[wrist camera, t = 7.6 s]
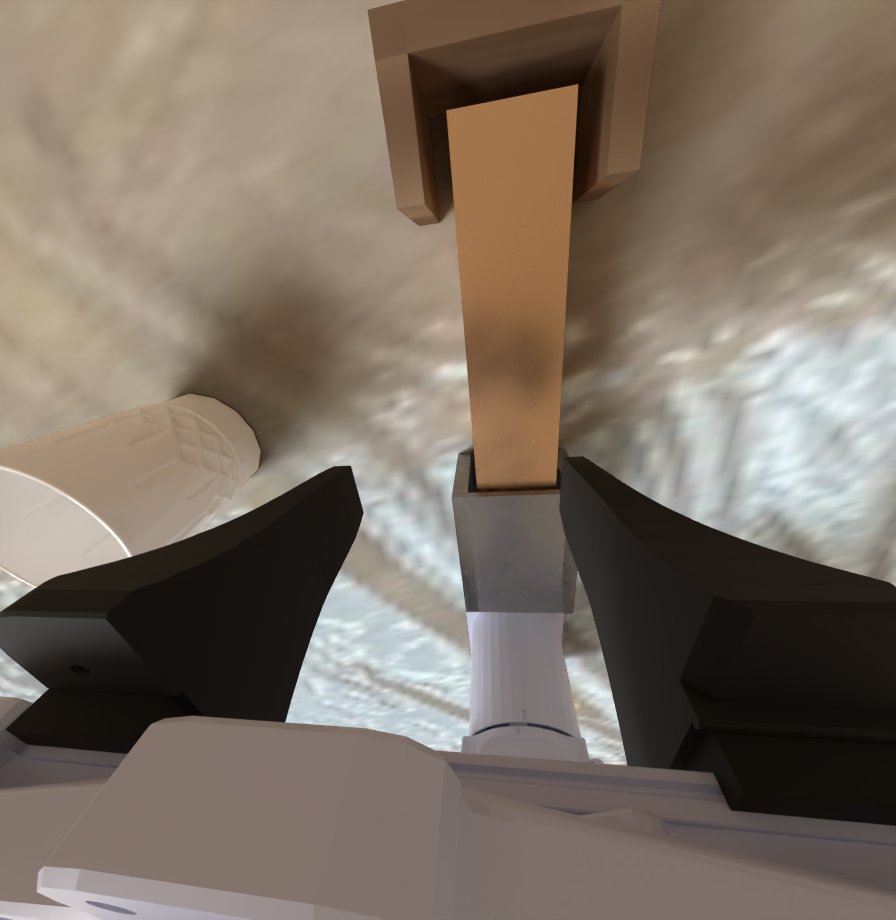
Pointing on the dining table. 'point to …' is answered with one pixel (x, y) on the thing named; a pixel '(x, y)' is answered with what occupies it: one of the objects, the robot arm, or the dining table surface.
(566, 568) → the sleeve
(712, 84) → the dining table surface
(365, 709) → the dining table surface
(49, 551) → the white cup
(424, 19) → the socket
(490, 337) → the tan wooden bar
